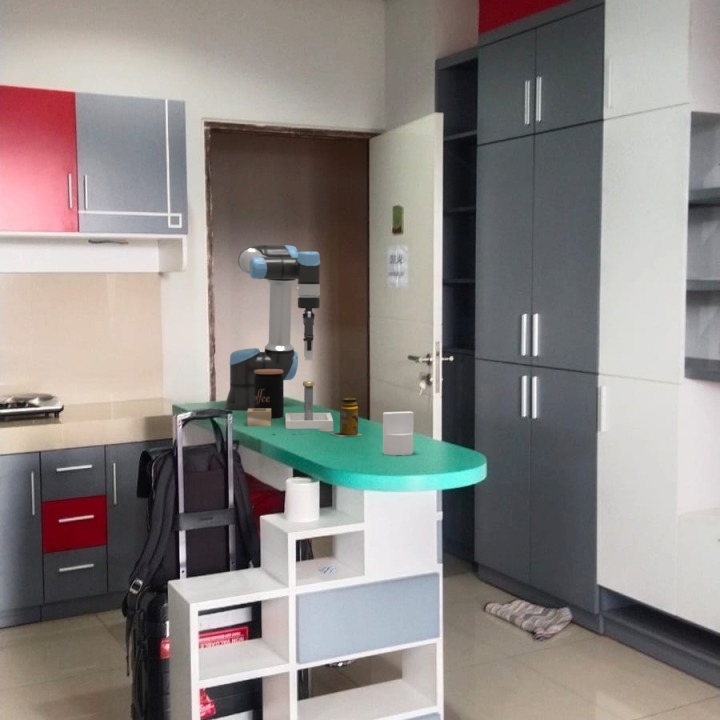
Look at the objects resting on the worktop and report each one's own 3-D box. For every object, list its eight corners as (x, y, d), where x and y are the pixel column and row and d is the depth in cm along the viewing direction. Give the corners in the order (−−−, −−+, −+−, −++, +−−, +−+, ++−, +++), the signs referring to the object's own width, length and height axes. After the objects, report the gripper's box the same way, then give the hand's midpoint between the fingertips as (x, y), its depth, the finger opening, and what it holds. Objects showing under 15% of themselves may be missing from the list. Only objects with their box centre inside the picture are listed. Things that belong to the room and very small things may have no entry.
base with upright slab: (388, 456, 276) (388, 415, 275) (378, 450, 284) (379, 411, 283) (417, 454, 278) (417, 414, 277) (407, 449, 287) (407, 410, 286)
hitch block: (248, 425, 332) (248, 408, 332) (271, 425, 333) (271, 408, 332) (247, 429, 324) (247, 411, 324) (270, 428, 325) (270, 411, 324)
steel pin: (302, 423, 332) (302, 381, 330) (314, 423, 332) (314, 381, 331) (303, 424, 328) (303, 382, 326) (314, 424, 328) (314, 382, 327)
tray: (285, 422, 339) (285, 413, 339) (330, 422, 341) (330, 412, 340) (285, 431, 319) (285, 421, 319) (333, 431, 321) (333, 420, 320)
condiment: (363, 435, 313) (363, 399, 312) (341, 437, 309) (341, 400, 308) (351, 432, 319) (351, 396, 318) (329, 434, 315) (329, 398, 314)
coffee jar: (248, 418, 349) (248, 369, 347) (273, 416, 355) (273, 368, 354) (263, 422, 340) (263, 372, 339) (289, 419, 347) (289, 370, 345)
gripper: (297, 295, 338) (297, 355, 340) (298, 297, 314) (298, 361, 316) (318, 295, 339) (318, 355, 341) (321, 297, 314) (320, 361, 316)
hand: (308, 358), depth 328 cm, fingers open, 13 cm apart
